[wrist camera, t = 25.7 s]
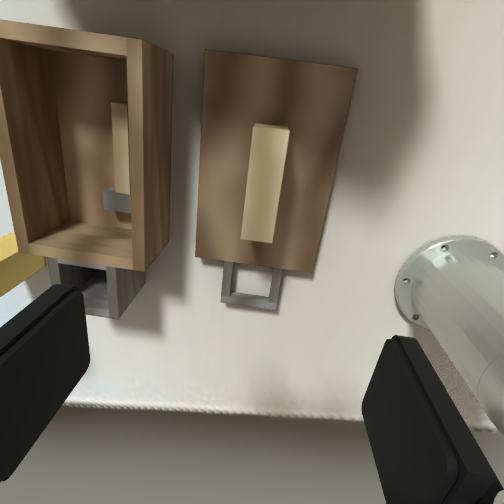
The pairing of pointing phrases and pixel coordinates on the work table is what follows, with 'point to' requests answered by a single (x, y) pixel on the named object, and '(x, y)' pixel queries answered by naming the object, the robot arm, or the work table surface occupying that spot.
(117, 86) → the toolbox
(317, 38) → the work table surface
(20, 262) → the yellow rectangular block
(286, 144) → the lid
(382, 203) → the work table surface
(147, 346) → the work table surface
